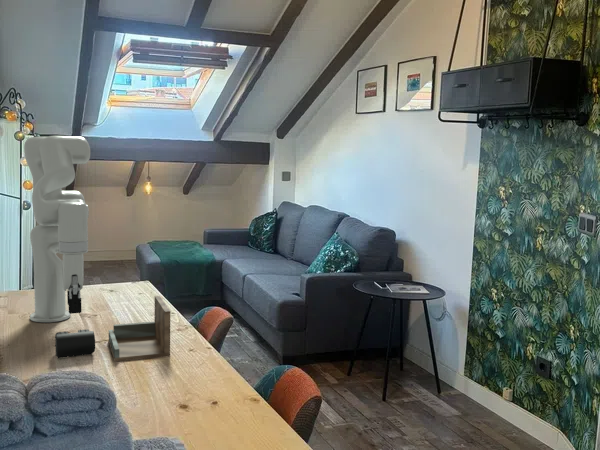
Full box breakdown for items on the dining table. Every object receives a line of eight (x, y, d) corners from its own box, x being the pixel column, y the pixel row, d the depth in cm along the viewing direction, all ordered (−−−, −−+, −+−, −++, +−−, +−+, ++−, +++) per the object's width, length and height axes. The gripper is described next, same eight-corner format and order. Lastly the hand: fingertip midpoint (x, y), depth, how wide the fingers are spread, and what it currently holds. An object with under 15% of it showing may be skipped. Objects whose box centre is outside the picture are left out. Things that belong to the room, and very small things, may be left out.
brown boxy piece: (108, 341, 184) (108, 298, 182) (159, 336, 189) (159, 295, 188) (114, 361, 167) (114, 315, 166) (170, 356, 173) (170, 311, 171)
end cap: (57, 362, 165) (56, 338, 164) (53, 354, 172) (53, 330, 171) (95, 357, 170) (95, 333, 169) (91, 349, 176) (90, 326, 175)
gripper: (58, 243, 173) (59, 302, 175) (59, 252, 157) (60, 317, 159) (86, 242, 176) (86, 300, 178) (90, 251, 160) (90, 315, 162)
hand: (74, 308), depth 169 cm, fingers open, 9 cm apart
